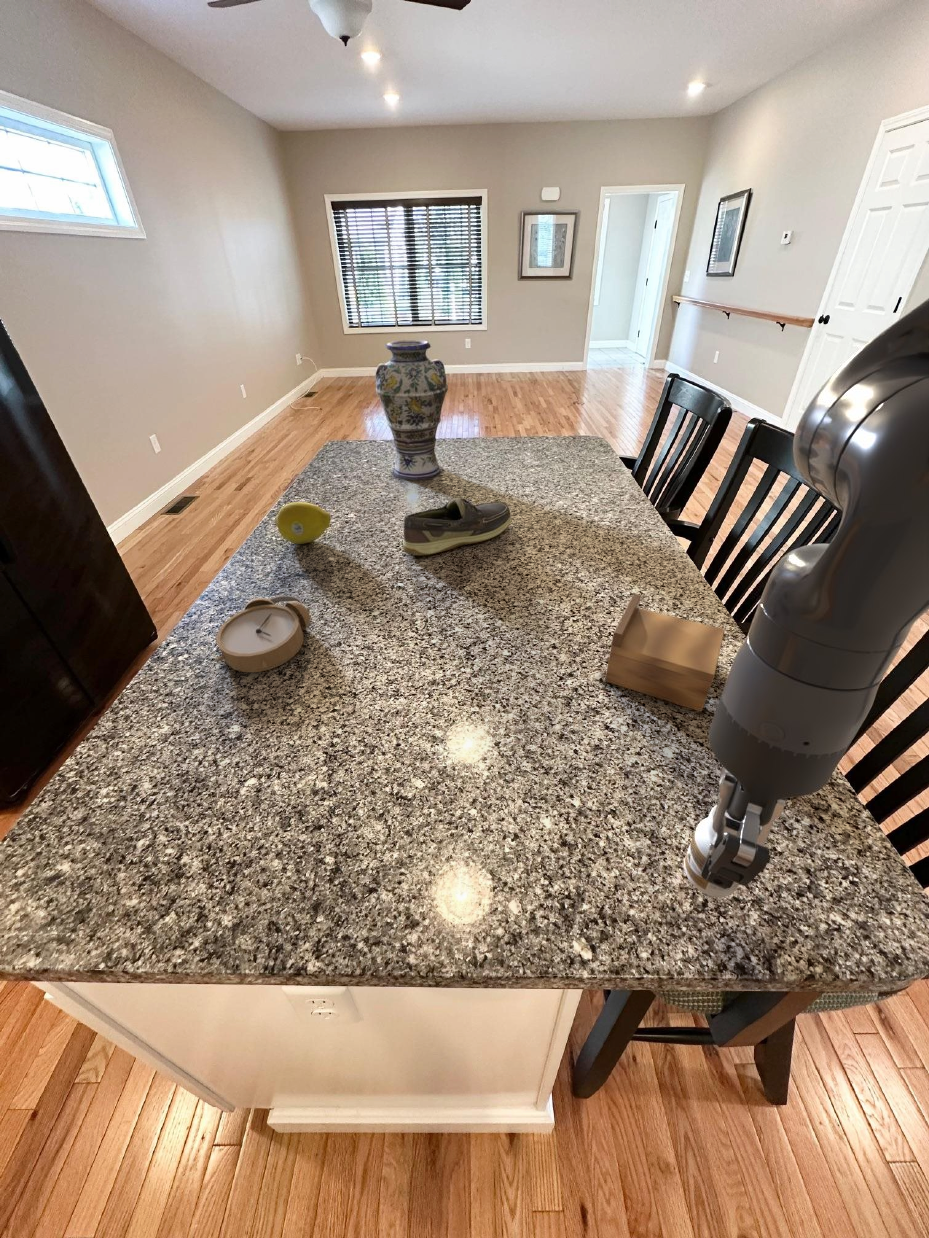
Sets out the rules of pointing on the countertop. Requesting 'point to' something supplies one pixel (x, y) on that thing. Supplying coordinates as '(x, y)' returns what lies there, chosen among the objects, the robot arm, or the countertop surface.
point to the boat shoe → (453, 526)
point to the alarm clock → (263, 634)
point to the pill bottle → (698, 856)
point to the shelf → (664, 656)
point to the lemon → (302, 522)
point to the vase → (412, 406)
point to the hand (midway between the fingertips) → (719, 852)
